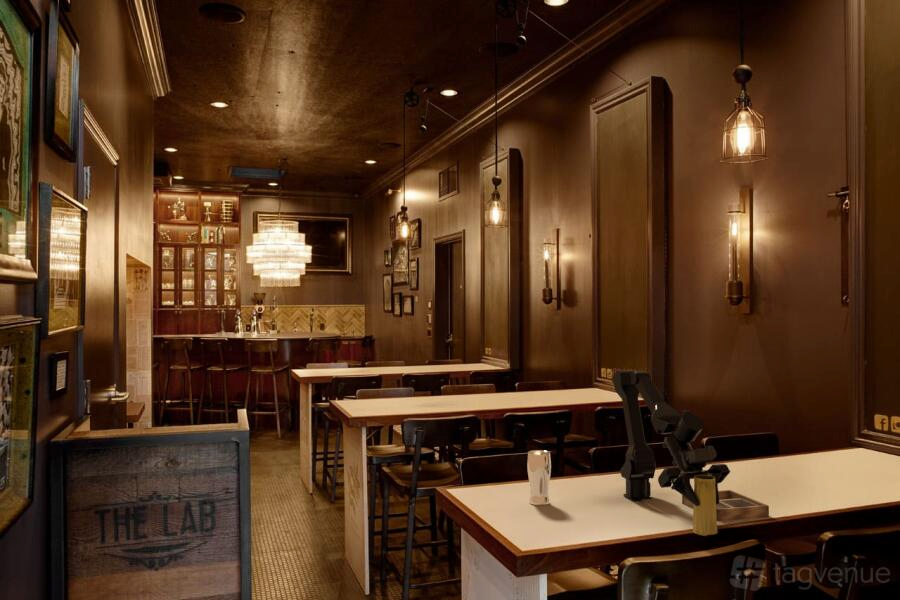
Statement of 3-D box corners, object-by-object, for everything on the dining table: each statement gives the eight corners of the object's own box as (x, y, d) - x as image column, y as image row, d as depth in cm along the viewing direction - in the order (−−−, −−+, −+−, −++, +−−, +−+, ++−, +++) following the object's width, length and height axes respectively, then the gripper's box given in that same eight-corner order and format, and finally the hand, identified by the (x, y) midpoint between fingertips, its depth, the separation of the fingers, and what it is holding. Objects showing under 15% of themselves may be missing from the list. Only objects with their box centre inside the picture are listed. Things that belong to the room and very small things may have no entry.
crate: (717, 522, 182) (717, 509, 182) (682, 505, 198) (682, 493, 198) (768, 518, 185) (768, 505, 185) (730, 501, 202) (730, 489, 202)
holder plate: (734, 518, 184) (734, 509, 184) (714, 508, 193) (714, 500, 193) (763, 515, 186) (763, 506, 186) (742, 506, 195) (742, 498, 195)
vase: (711, 528, 177) (711, 474, 177) (721, 536, 171) (721, 479, 171) (688, 529, 176) (688, 474, 177) (698, 536, 170) (697, 480, 171)
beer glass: (532, 507, 197) (532, 455, 197) (524, 500, 203) (523, 450, 204) (554, 505, 199) (554, 454, 199) (545, 498, 205) (545, 449, 206)
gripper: (663, 436, 175) (689, 490, 164) (725, 433, 180) (754, 485, 169) (647, 460, 183) (671, 513, 172) (707, 457, 188) (733, 507, 177)
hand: (708, 504), depth 172 cm, fingers open, 6 cm apart
